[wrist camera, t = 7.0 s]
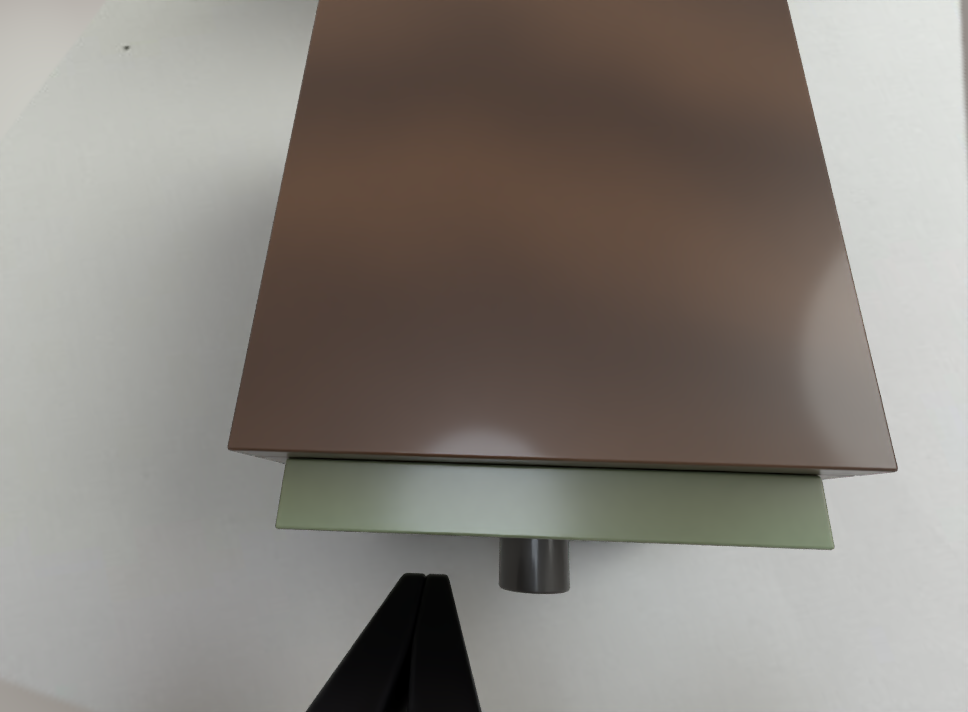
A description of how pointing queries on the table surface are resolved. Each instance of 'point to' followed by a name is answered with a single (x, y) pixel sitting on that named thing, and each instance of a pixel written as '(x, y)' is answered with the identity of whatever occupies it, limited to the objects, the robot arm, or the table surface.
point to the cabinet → (559, 247)
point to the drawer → (554, 508)
